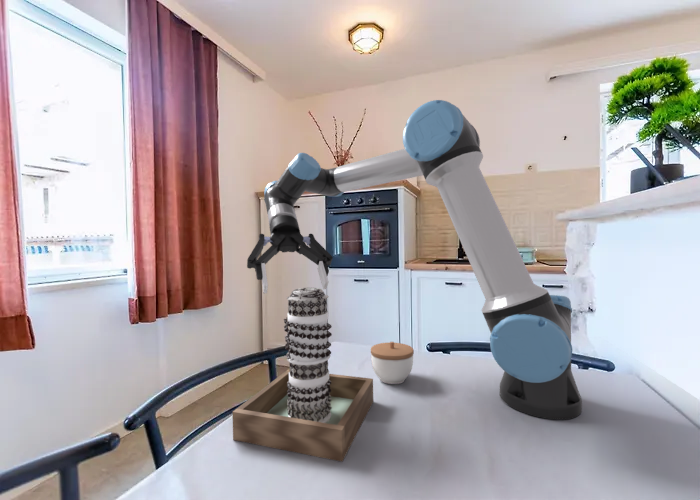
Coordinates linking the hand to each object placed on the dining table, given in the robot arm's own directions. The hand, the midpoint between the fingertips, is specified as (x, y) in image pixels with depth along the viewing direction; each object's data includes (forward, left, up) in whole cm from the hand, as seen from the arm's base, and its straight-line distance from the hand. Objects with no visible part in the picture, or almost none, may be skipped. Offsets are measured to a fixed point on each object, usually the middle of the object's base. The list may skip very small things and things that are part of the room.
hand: (296, 287), depth 74 cm
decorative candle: (-6, +8, -24) cm, 26 cm away
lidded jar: (-19, -15, -25) cm, 34 cm away
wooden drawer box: (-7, +8, -25) cm, 27 cm away
